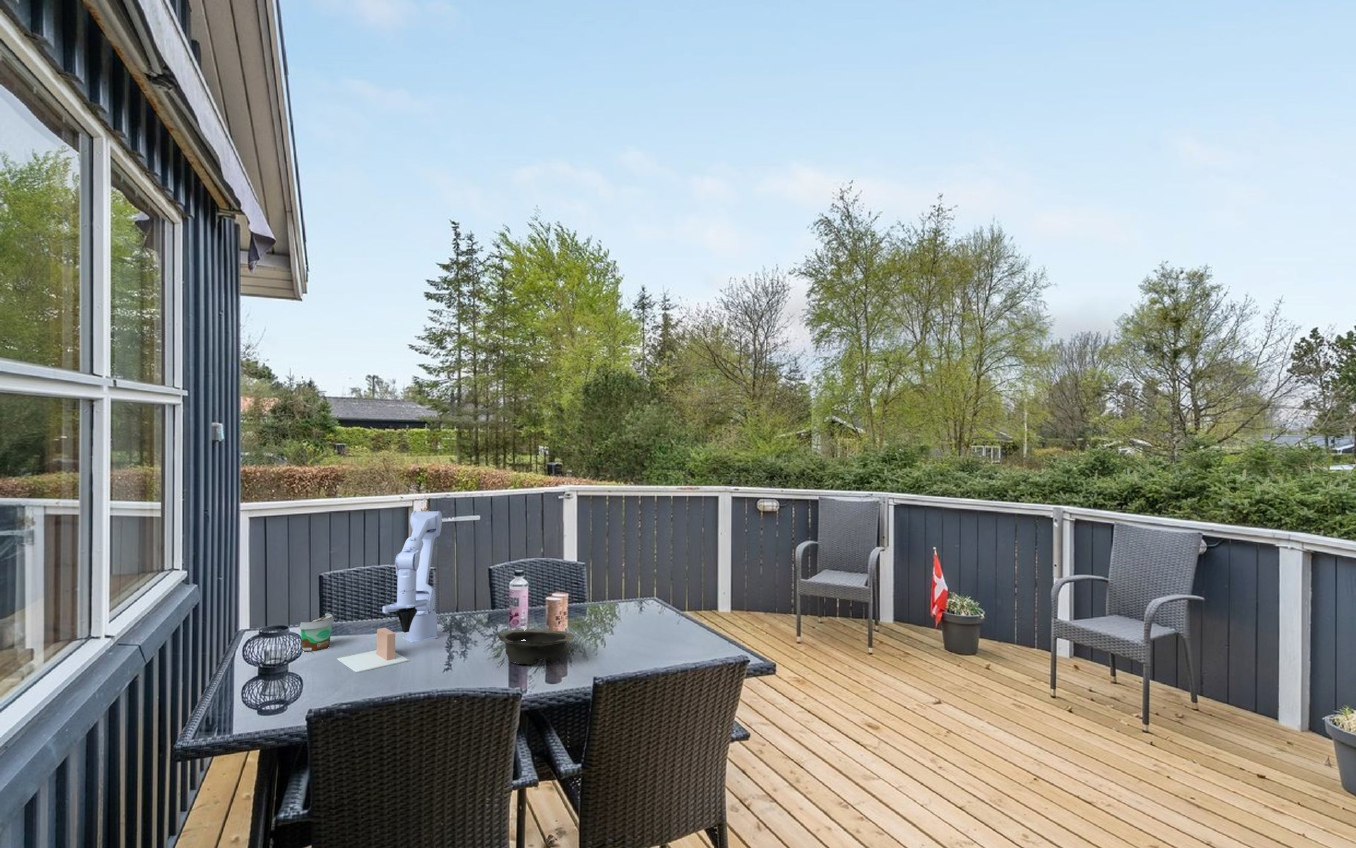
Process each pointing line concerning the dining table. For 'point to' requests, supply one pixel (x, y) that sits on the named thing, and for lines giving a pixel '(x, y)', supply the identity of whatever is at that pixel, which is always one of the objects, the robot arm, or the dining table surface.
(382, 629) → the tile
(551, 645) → the stone bowl
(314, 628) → the food container
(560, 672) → the dining table surface
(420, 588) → the robot arm
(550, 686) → the dining table surface
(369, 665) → the mat
